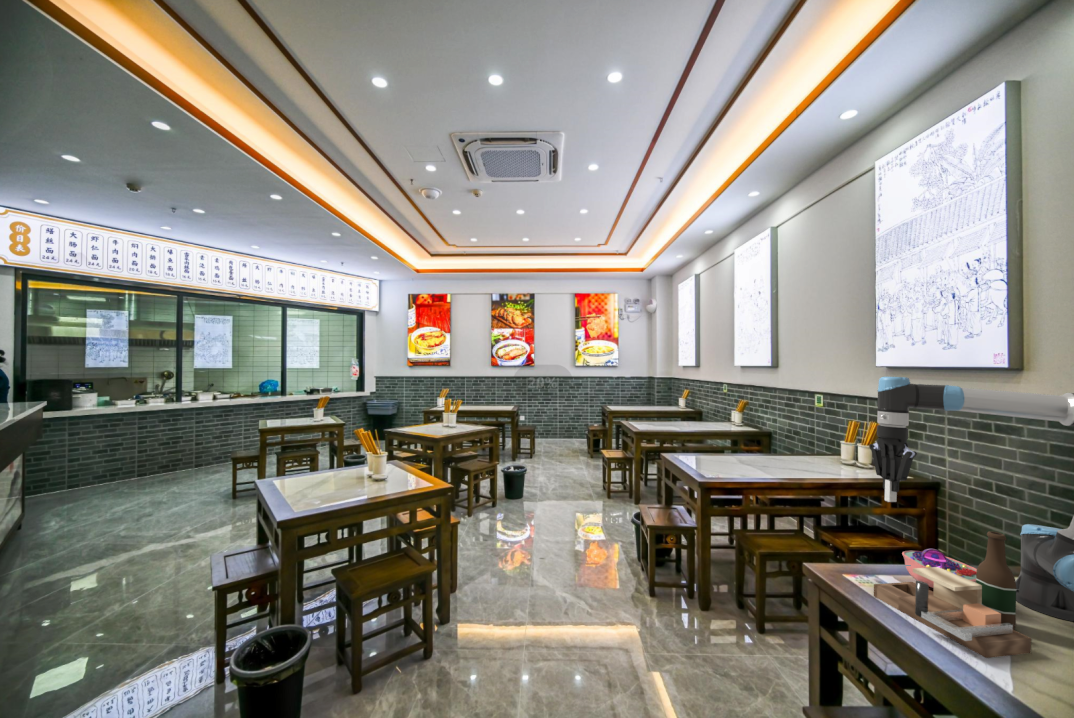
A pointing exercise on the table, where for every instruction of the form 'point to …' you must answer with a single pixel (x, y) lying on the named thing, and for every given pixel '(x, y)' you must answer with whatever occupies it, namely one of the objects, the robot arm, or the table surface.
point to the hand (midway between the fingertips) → (890, 501)
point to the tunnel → (952, 586)
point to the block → (980, 615)
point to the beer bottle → (997, 580)
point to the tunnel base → (951, 621)
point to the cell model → (936, 564)
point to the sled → (954, 618)
